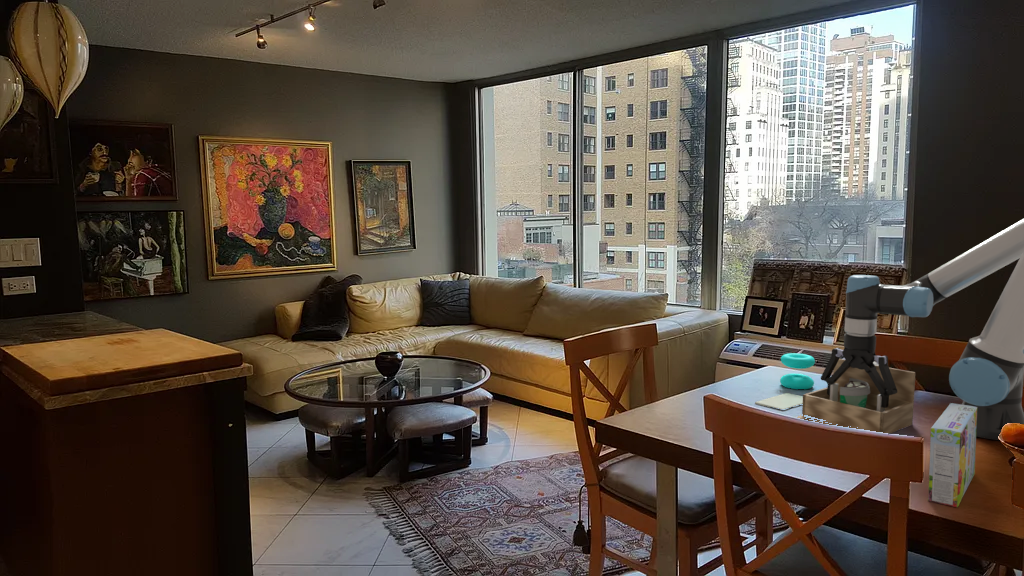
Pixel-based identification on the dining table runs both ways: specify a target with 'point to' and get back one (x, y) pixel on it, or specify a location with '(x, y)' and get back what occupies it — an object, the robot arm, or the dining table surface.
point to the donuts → (799, 363)
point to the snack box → (952, 454)
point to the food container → (855, 393)
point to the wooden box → (869, 417)
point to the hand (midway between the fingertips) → (856, 413)
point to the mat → (782, 401)
